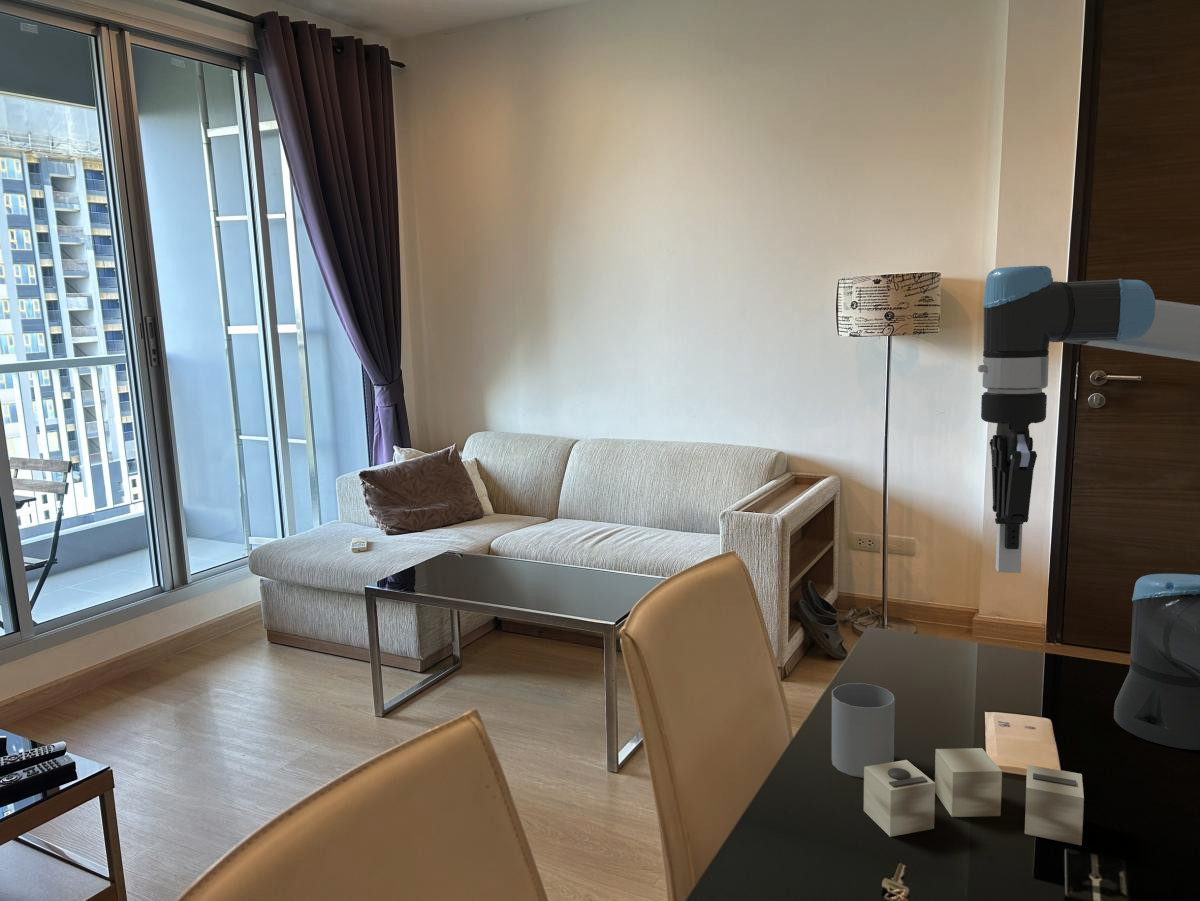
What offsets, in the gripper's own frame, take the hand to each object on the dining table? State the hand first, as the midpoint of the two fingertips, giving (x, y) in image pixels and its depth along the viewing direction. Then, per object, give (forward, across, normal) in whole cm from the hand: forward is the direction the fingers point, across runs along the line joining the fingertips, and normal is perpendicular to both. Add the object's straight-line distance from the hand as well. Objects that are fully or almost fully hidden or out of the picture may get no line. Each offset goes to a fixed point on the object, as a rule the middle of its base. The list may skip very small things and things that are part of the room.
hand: (1008, 570), depth 115 cm
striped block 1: (+29, +13, -15) cm, 35 cm away
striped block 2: (+29, +12, +3) cm, 31 cm away
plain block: (+29, +8, -6) cm, 30 cm away
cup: (+29, -1, -18) cm, 34 cm away
